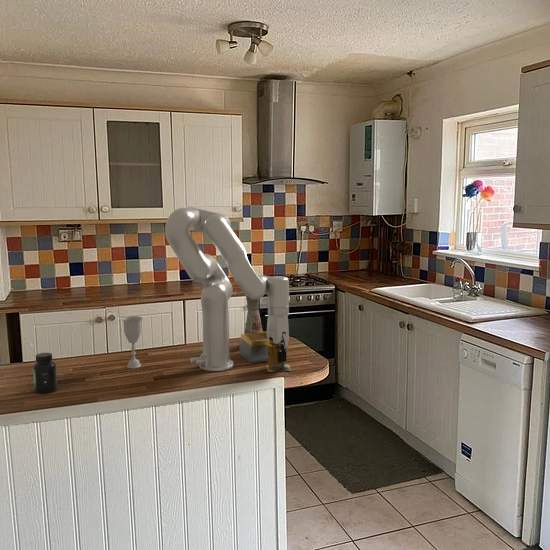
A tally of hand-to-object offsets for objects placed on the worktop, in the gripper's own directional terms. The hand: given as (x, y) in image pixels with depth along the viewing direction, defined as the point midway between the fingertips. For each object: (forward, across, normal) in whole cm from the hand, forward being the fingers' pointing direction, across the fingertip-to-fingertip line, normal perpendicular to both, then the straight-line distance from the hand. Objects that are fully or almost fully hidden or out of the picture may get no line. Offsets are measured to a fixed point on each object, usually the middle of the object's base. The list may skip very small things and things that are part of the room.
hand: (278, 358), depth 195 cm
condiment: (+4, 0, 0) cm, 4 cm away
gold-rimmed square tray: (+4, -16, +1) cm, 16 cm away
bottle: (+4, -30, +2) cm, 30 cm away
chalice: (+4, -23, -48) cm, 53 cm away
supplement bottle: (+4, -9, -78) cm, 79 cm away
